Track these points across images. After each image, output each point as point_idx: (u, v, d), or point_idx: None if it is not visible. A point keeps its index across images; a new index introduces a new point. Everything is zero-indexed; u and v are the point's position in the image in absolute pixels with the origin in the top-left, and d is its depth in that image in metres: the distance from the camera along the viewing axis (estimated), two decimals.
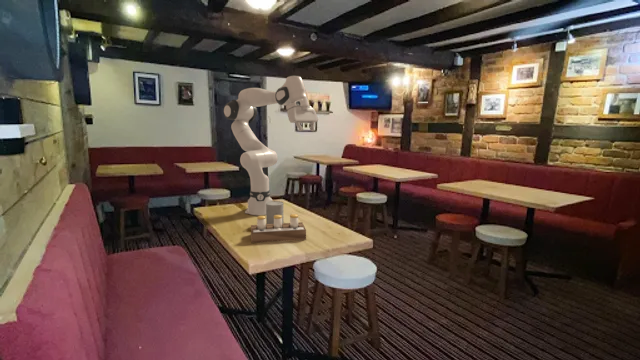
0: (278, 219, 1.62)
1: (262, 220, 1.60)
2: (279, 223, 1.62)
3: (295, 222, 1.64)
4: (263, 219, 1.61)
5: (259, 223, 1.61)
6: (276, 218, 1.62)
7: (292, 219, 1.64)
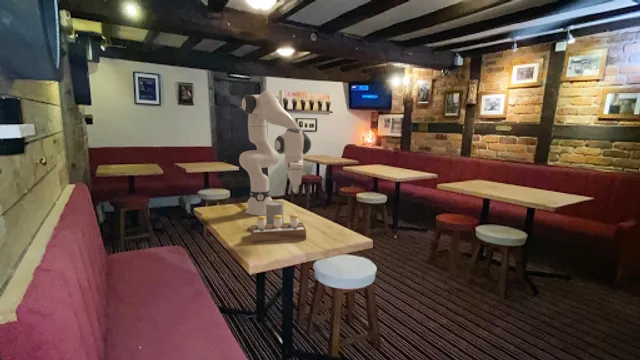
0: (278, 219, 1.62)
1: (262, 220, 1.60)
2: (279, 223, 1.62)
3: (295, 222, 1.64)
4: (263, 219, 1.61)
5: (259, 223, 1.61)
6: (276, 218, 1.62)
7: (292, 219, 1.64)
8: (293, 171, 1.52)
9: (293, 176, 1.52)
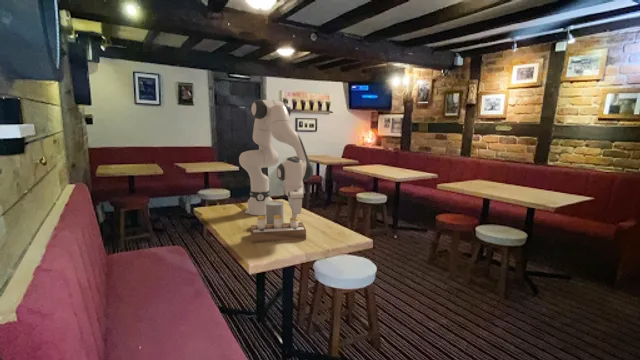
0: (278, 219, 1.62)
1: (262, 220, 1.60)
2: (279, 223, 1.62)
3: (295, 225, 1.64)
4: (263, 219, 1.61)
5: (259, 223, 1.61)
6: (276, 218, 1.62)
7: (292, 222, 1.64)
8: (293, 200, 1.54)
9: (293, 205, 1.54)
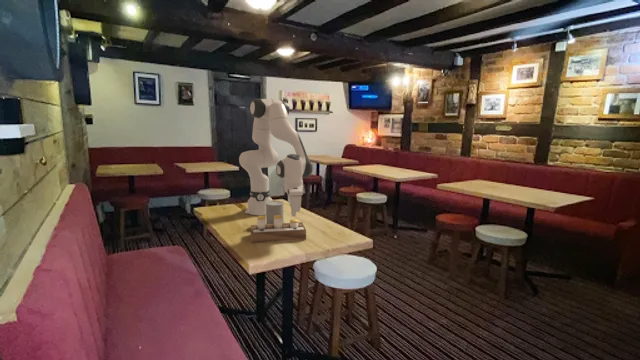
0: (278, 219, 1.62)
1: (262, 220, 1.60)
2: (279, 223, 1.62)
3: (295, 227, 1.64)
4: (263, 219, 1.61)
5: (259, 223, 1.61)
6: (276, 218, 1.62)
7: (292, 224, 1.64)
8: (293, 198, 1.54)
9: (292, 203, 1.54)
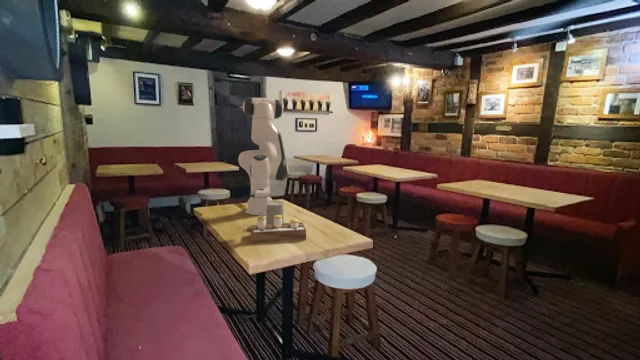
0: (278, 219, 1.62)
1: (262, 221, 1.60)
2: (279, 223, 1.62)
3: (295, 227, 1.64)
4: (263, 220, 1.61)
5: (259, 224, 1.61)
6: (276, 218, 1.62)
7: (292, 224, 1.64)
8: (258, 199, 1.51)
9: (258, 204, 1.51)
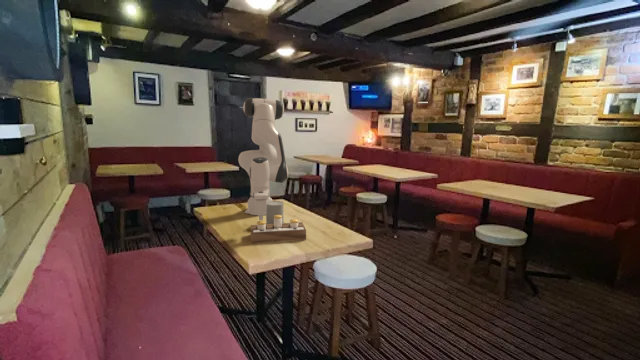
0: (278, 219, 1.62)
1: (262, 225, 1.61)
2: (279, 223, 1.62)
3: (295, 227, 1.64)
4: (263, 224, 1.61)
5: (259, 228, 1.61)
6: (276, 218, 1.62)
7: (292, 224, 1.64)
8: (257, 202, 1.51)
9: (257, 207, 1.51)
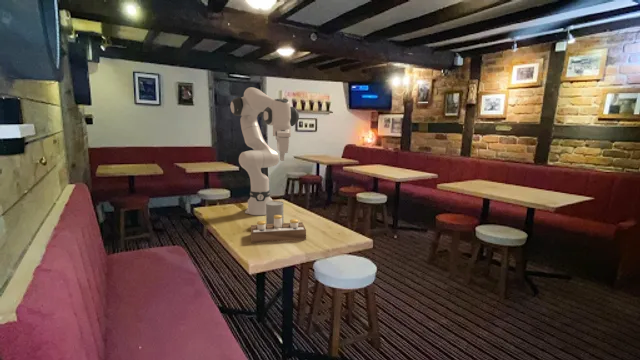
0: (278, 219, 1.62)
1: (262, 225, 1.61)
2: (279, 223, 1.62)
3: (295, 227, 1.64)
4: (263, 224, 1.61)
5: (259, 228, 1.61)
6: (276, 218, 1.62)
7: (292, 224, 1.64)
8: (280, 139, 1.56)
9: (280, 144, 1.56)
